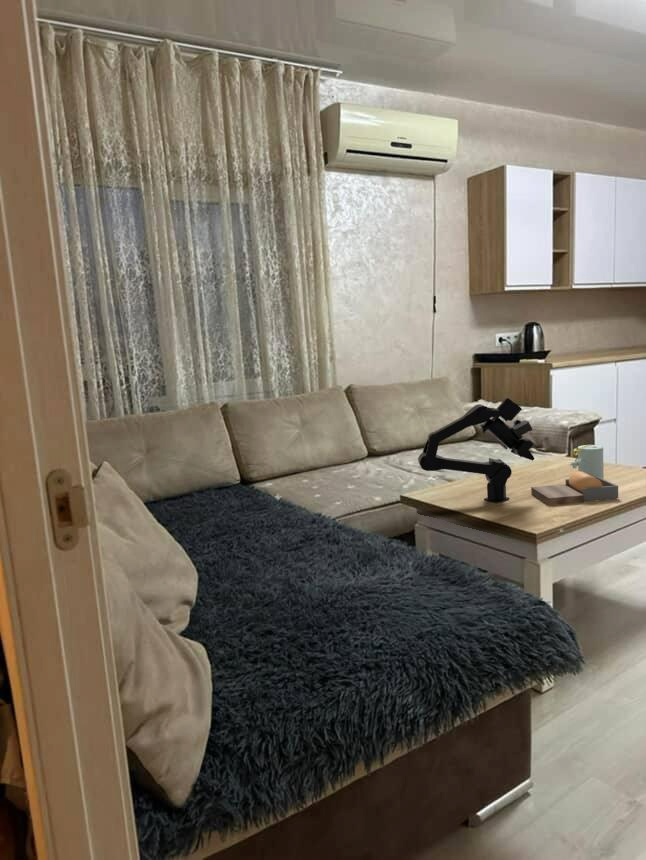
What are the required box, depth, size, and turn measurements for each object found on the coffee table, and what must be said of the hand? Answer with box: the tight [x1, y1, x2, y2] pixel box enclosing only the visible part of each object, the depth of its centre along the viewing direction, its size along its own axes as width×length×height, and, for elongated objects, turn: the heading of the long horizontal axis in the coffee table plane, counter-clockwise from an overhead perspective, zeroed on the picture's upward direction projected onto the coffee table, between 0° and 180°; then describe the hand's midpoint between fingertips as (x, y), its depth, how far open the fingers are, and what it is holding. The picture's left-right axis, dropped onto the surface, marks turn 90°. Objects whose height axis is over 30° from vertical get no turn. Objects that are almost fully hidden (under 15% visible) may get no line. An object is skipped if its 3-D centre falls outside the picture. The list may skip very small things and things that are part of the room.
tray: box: [564, 477, 619, 503], centre depth 214 cm, size 12×15×4 cm
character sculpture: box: [570, 444, 605, 480], centre depth 233 cm, size 20×12×13 cm, turn 137°
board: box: [530, 483, 585, 506], centre depth 214 cm, size 12×16×2 cm
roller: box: [568, 471, 603, 494], centre depth 214 cm, size 11×7×7 cm, turn 1°
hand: (533, 459), depth 216 cm, fingers closed
